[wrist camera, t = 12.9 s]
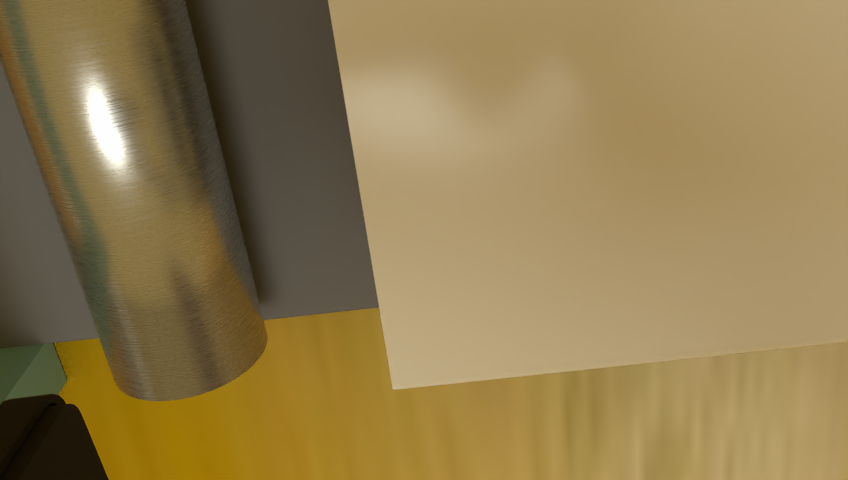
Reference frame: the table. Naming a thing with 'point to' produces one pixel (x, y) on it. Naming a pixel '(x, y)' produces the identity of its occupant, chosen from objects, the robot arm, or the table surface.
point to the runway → (249, 179)
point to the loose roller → (137, 187)
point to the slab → (598, 179)
